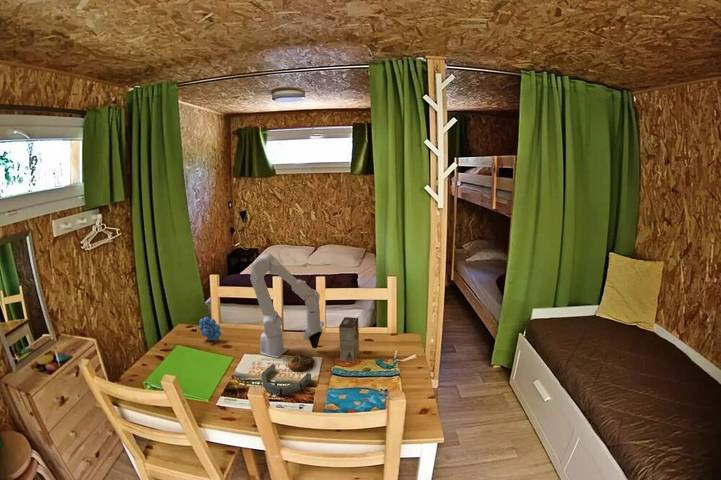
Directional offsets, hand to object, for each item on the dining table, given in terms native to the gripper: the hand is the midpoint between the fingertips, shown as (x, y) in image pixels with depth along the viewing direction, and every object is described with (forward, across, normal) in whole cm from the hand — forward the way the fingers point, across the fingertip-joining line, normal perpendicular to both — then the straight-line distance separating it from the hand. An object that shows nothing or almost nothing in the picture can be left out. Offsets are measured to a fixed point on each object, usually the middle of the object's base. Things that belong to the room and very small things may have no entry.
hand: (314, 347), depth 154 cm
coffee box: (+2, +2, -16) cm, 16 cm away
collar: (+2, -25, 0) cm, 25 cm away
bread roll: (+2, -11, 0) cm, 11 cm away
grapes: (+2, -10, +51) cm, 52 cm away
